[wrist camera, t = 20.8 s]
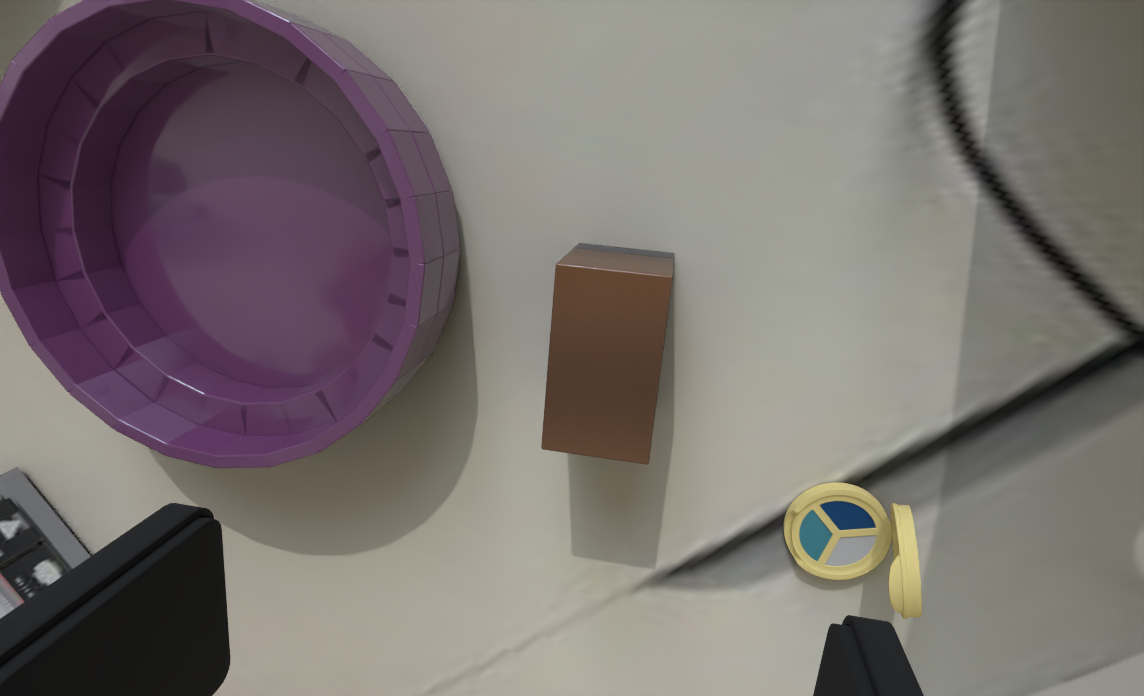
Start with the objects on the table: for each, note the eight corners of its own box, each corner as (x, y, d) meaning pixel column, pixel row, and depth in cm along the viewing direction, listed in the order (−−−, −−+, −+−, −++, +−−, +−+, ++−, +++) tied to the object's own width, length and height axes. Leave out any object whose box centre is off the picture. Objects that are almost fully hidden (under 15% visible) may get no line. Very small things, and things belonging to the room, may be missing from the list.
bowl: (281, -91, 27) (196, -142, 23) (546, 290, 30) (520, 316, 25) (10, 180, 32) (-106, 185, 28) (257, 486, 35) (189, 540, 30)
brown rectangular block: (578, 242, 29) (555, 263, 24) (674, 253, 29) (672, 276, 23) (565, 399, 31) (541, 449, 26) (654, 411, 31) (648, 465, 25)
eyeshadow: (778, 486, 31) (796, 547, 26) (899, 476, 30) (940, 538, 25) (788, 574, 32) (806, 648, 27) (905, 567, 31) (944, 642, 26)
